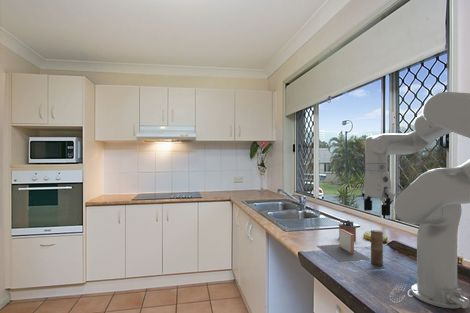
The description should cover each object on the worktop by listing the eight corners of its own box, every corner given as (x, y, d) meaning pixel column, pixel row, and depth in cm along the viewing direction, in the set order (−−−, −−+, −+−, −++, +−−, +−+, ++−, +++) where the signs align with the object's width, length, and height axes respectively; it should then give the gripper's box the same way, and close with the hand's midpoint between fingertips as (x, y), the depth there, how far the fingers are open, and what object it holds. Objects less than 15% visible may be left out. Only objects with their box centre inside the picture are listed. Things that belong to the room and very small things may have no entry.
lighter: (356, 240, 133) (356, 220, 133) (355, 242, 130) (355, 222, 130) (339, 238, 137) (339, 218, 137) (338, 240, 134) (338, 220, 134)
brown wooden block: (385, 267, 101) (385, 232, 101) (375, 267, 100) (375, 233, 101) (377, 263, 105) (377, 229, 105) (368, 263, 104) (368, 230, 104)
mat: (371, 260, 107) (371, 259, 107) (339, 263, 105) (339, 261, 105) (343, 245, 126) (343, 244, 126) (316, 247, 124) (316, 245, 124)
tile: (353, 253, 114) (353, 234, 114) (351, 253, 114) (351, 234, 114) (341, 246, 123) (341, 229, 123) (339, 246, 122) (339, 229, 122)
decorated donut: (386, 245, 127) (386, 237, 127) (361, 241, 133) (361, 233, 133) (388, 239, 135) (388, 232, 135) (365, 236, 141) (365, 228, 141)
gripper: (402, 168, 95) (403, 217, 95) (369, 167, 112) (370, 208, 112) (383, 169, 94) (384, 218, 94) (353, 167, 111) (353, 209, 111)
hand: (376, 212), depth 103 cm, fingers open, 9 cm apart
